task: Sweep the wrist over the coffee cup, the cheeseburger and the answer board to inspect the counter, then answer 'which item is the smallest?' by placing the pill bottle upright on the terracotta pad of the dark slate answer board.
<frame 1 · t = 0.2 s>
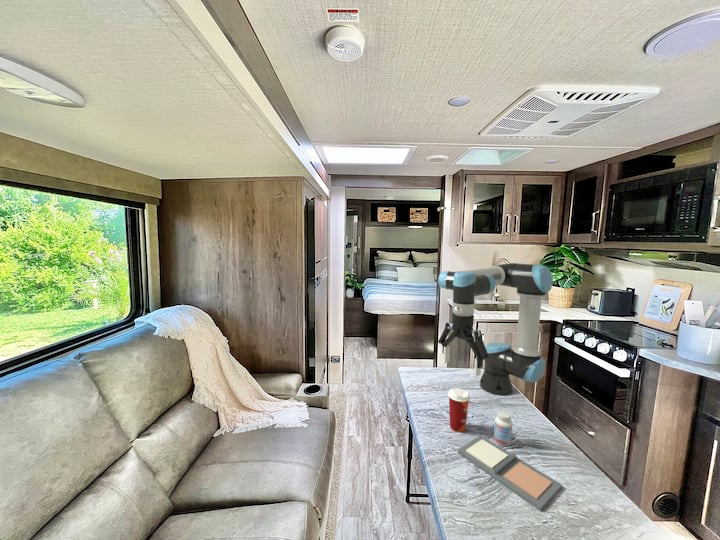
hand: (461, 368, 112), 28 cm above the table, fingers open, 13 cm apart
answer board: (505, 468, 100), on the table
pill bottle: (502, 441, 113), on the table
coffee cup: (457, 427, 121), on the table
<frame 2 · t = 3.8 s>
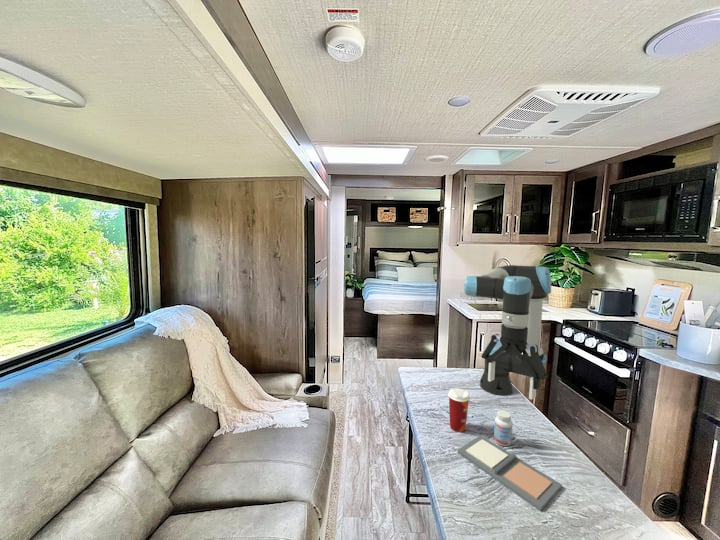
hand: (510, 388, 97), 28 cm above the table, fingers open, 13 cm apart
nothing on the table moved.
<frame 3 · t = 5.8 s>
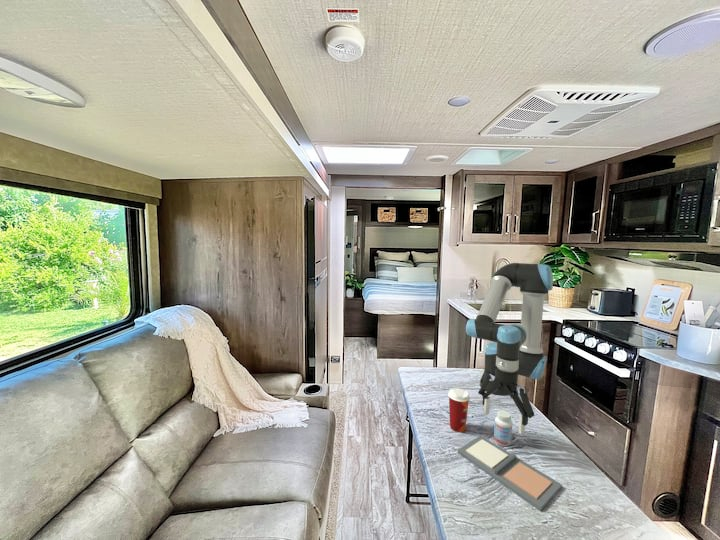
hand: (503, 422, 112), 8 cm above the table, fingers open, 13 cm apart
nothing on the table moved.
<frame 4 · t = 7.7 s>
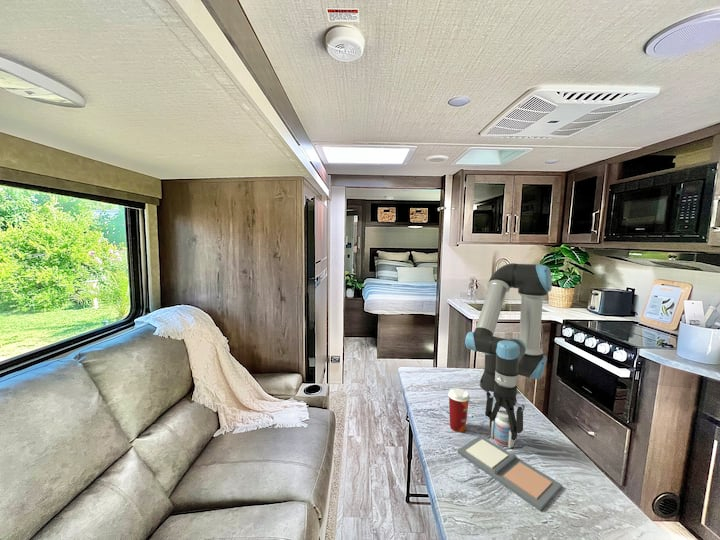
hand: (502, 441, 113), 0 cm above the table, fingers closed on pill bottle, 6 cm apart
pill bottle: (502, 441, 113), on the table, touching gripper
everything else where it was.
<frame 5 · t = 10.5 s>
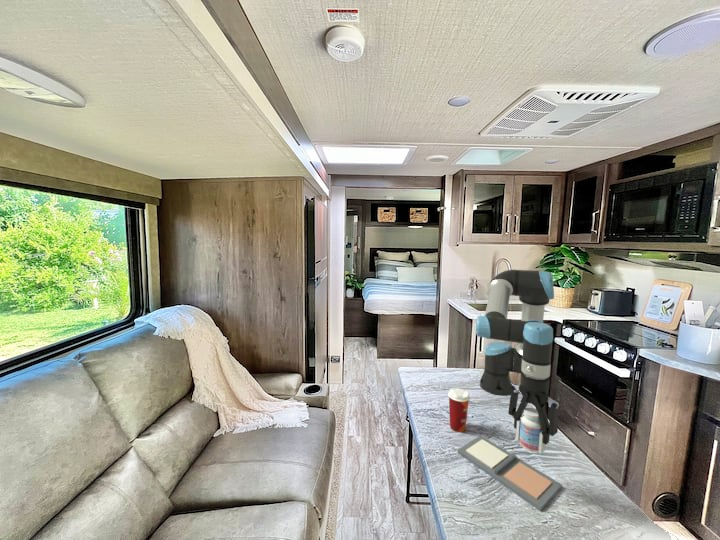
hand: (530, 445, 92), 13 cm above the table, fingers closed on pill bottle, 6 cm apart
pill bottle: (530, 446, 93), point 12 cm above the table, touching gripper
everything else where it was.
when the fingers open (3 cm above the table, at t = 12.9 s): pill bottle drops 1 cm, resting on answer board.
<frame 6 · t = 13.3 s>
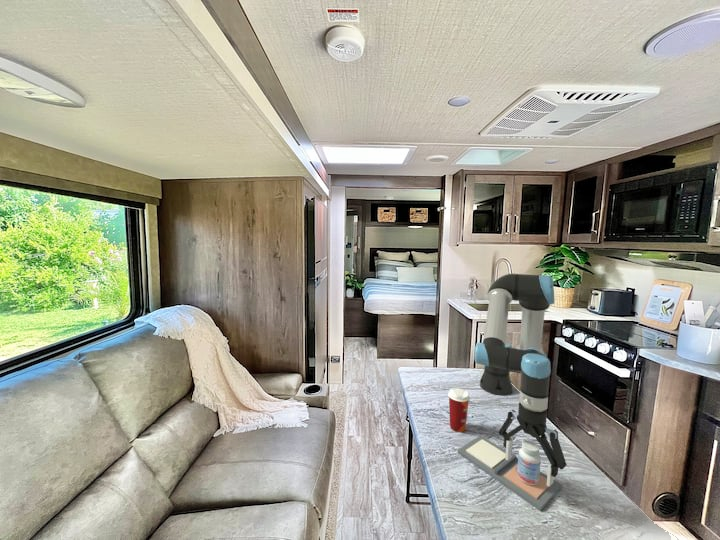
hand: (528, 470, 94), 4 cm above the table, fingers open, 12 cm apart
pill bottle: (527, 478, 94), point 1 cm above the table, touching answer board
everything else where it was.
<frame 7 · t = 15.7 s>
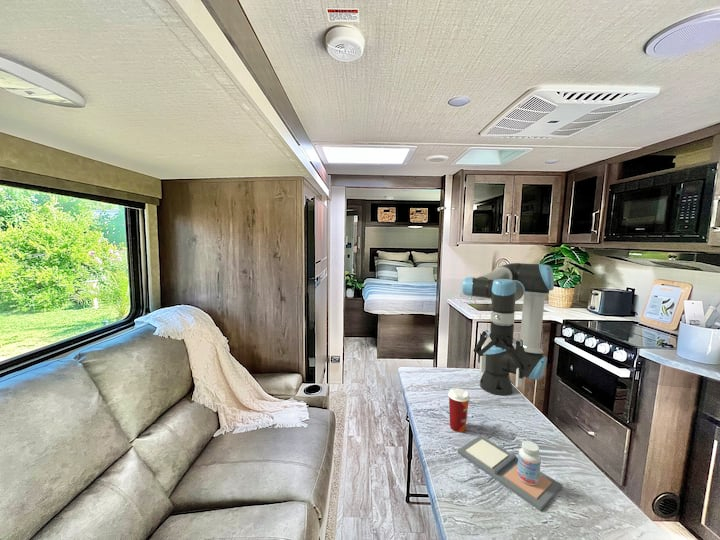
hand: (499, 378, 109), 26 cm above the table, fingers open, 13 cm apart
nothing on the table moved.
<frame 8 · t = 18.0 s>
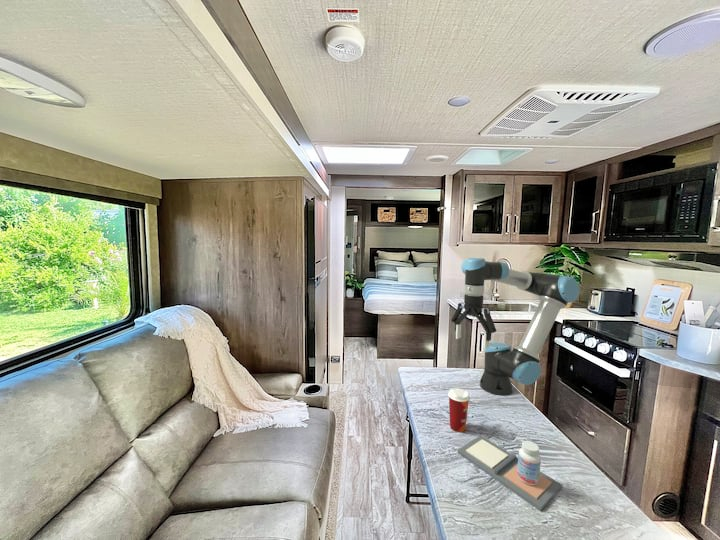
hand: (471, 342, 128), 32 cm above the table, fingers open, 13 cm apart
nothing on the table moved.
at the end: pill bottle inside the target area on the answer board (0.2 cm from its centre), point 1.2 cm above the answer board's base; pill bottle tilted 0°; the gripper is holding nothing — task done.
